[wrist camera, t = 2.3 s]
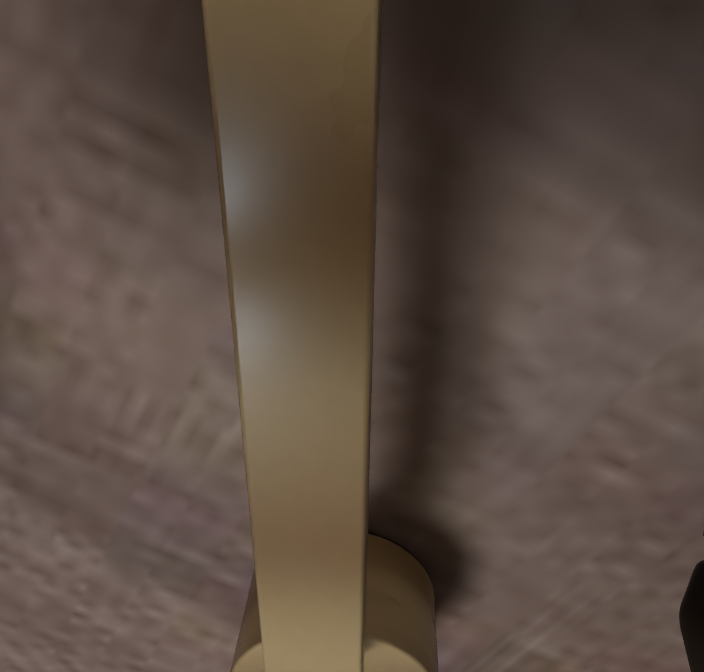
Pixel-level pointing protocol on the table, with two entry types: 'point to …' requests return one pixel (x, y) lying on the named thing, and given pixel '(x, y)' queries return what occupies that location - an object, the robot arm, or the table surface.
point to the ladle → (308, 334)
